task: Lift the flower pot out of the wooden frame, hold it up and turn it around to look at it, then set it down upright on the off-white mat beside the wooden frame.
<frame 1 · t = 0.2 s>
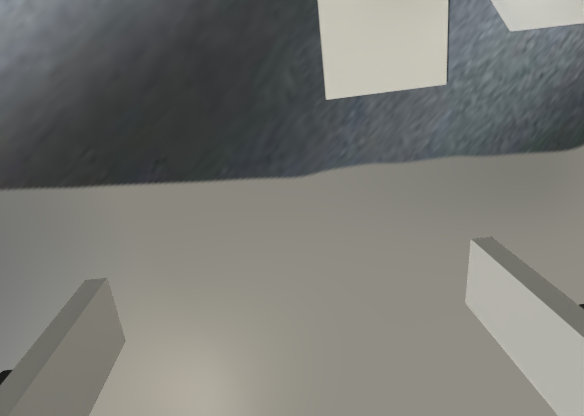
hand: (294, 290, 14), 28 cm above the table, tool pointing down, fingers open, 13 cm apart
mat: (383, 25, 37), on the table
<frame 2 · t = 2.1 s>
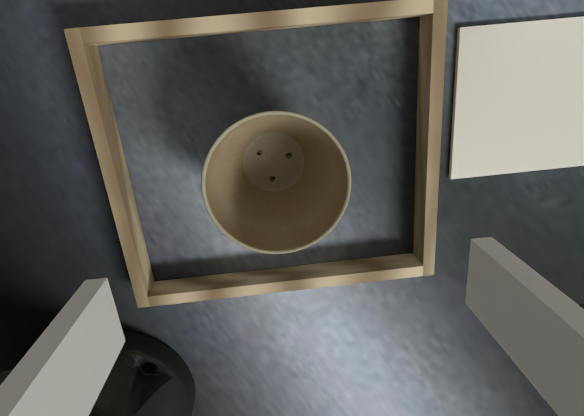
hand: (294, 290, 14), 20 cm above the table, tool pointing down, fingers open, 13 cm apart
flower pot: (274, 161, 33), resting in wooden frame
wooden frame: (274, 161, 33), on the table
mat: (524, 100, 32), on the table
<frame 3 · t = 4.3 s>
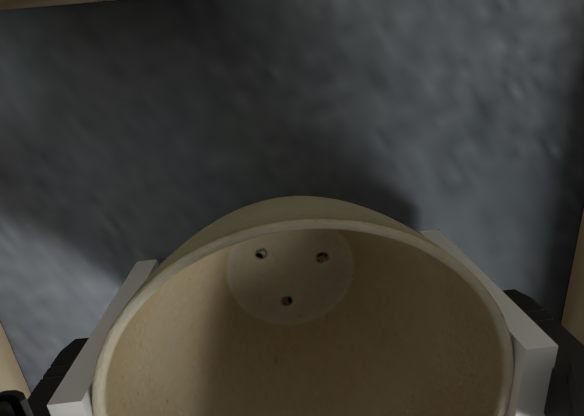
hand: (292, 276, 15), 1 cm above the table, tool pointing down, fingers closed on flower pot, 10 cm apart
flower pot: (291, 264, 16), resting in wooden frame, touching gripper
wooden frame: (291, 266, 16), on the table
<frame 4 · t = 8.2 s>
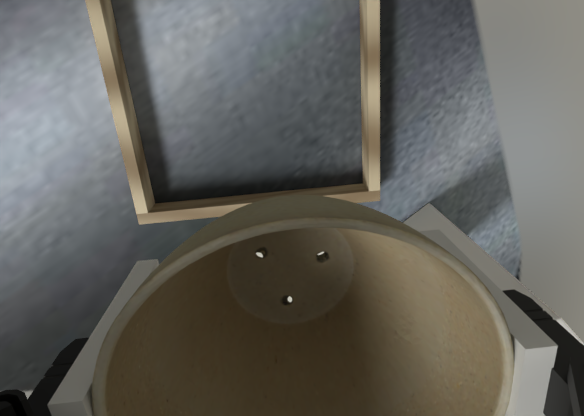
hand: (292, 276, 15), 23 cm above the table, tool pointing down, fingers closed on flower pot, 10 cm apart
flower pot: (291, 263, 16), point 22 cm above the table, touching gripper
wooden frame: (244, 60, 34), on the table
milk: (420, 239, 41), on the table
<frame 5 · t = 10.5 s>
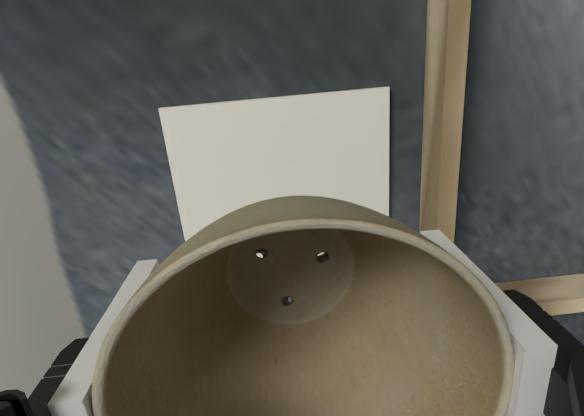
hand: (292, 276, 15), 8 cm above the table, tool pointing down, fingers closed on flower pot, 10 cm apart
flower pot: (291, 263, 16), point 7 cm above the table, touching gripper
mat: (285, 203, 23), on the table
when the fingers open (3 cm above the table, at t = 12.3 s): flower pot drops 1 cm, resting on mat.
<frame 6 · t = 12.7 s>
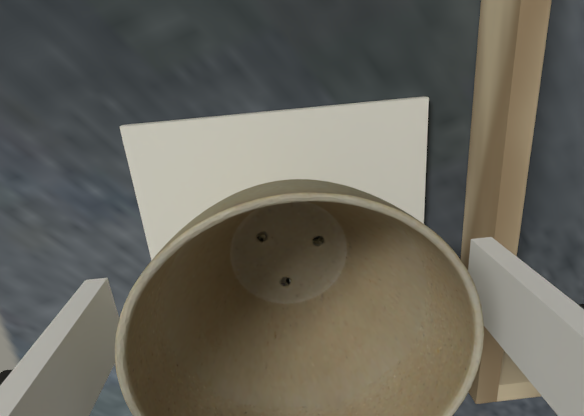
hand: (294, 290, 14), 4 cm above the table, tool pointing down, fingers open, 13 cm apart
flower pot: (289, 247, 18), resting on mat
mat: (288, 246, 18), on the table
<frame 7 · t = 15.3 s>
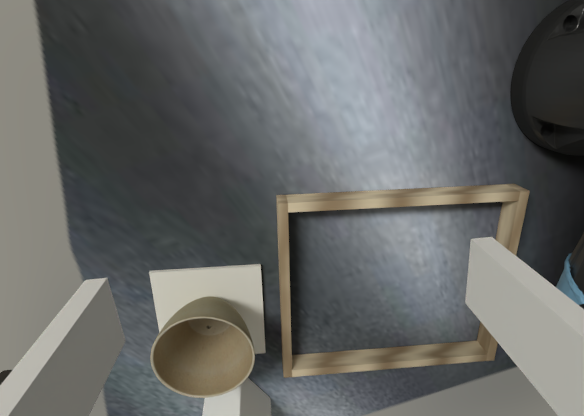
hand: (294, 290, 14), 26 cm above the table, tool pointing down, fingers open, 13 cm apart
flower pot: (211, 313, 45), resting on mat
wooden frame: (390, 278, 46), on the table
milk: (238, 395, 50), on the table
mat: (211, 313, 45), on the table
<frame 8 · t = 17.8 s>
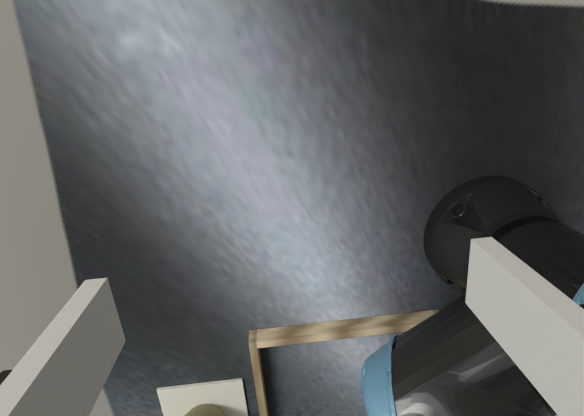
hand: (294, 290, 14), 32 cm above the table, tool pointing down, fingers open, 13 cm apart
flower pot: (206, 415, 58), resting on mat
wooden frame: (347, 382, 57), on the table
mat: (206, 414, 58), on the table
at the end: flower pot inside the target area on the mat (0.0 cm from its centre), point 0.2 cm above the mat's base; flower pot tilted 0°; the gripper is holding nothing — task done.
